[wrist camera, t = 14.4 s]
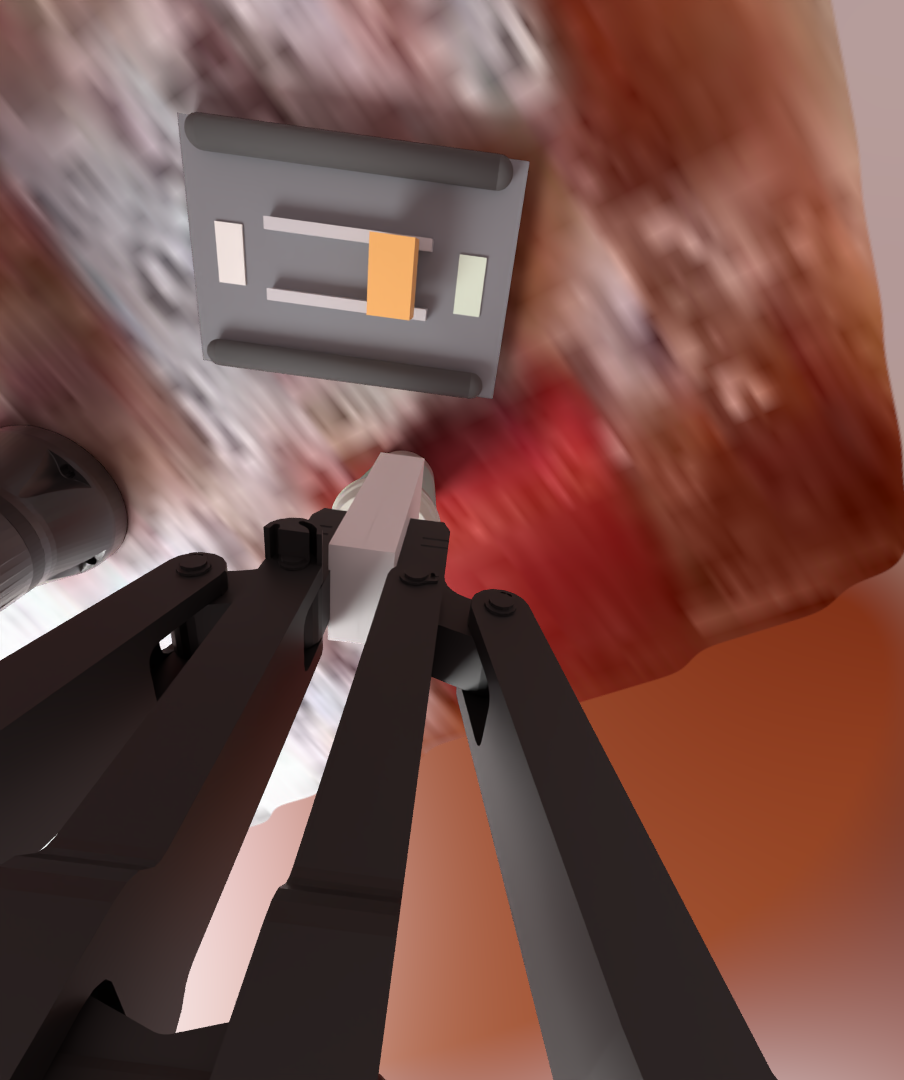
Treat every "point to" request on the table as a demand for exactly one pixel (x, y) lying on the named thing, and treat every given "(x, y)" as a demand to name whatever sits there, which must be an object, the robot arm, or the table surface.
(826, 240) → the table surface
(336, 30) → the table surface
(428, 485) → the coffee cup
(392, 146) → the pair of grey bars
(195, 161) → the slide switch panel
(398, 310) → the lever
